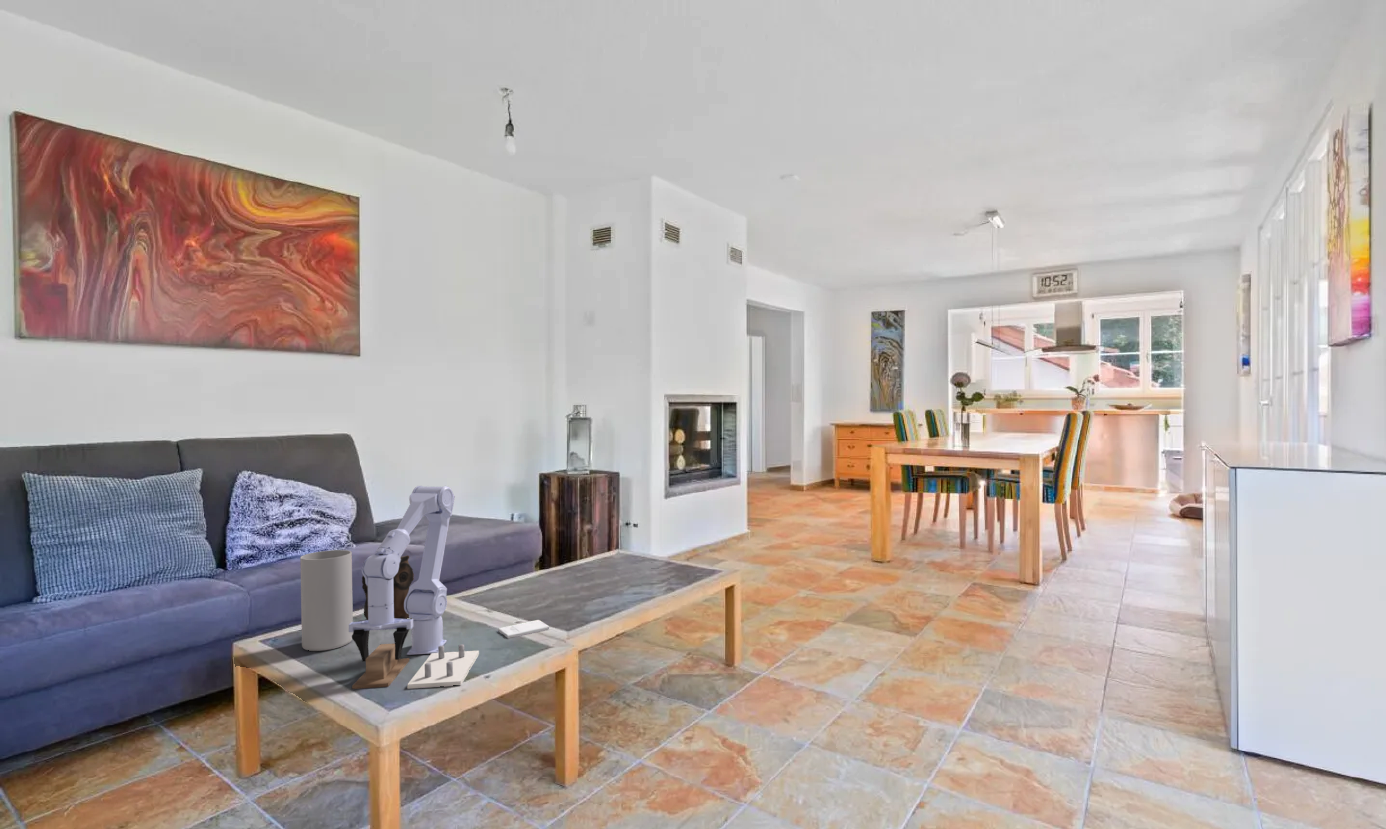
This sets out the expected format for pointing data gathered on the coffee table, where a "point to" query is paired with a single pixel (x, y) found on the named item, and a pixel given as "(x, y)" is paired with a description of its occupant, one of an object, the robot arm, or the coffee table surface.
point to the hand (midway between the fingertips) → (381, 659)
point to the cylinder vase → (326, 599)
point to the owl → (396, 588)
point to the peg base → (444, 668)
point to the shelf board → (381, 681)
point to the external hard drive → (523, 629)
